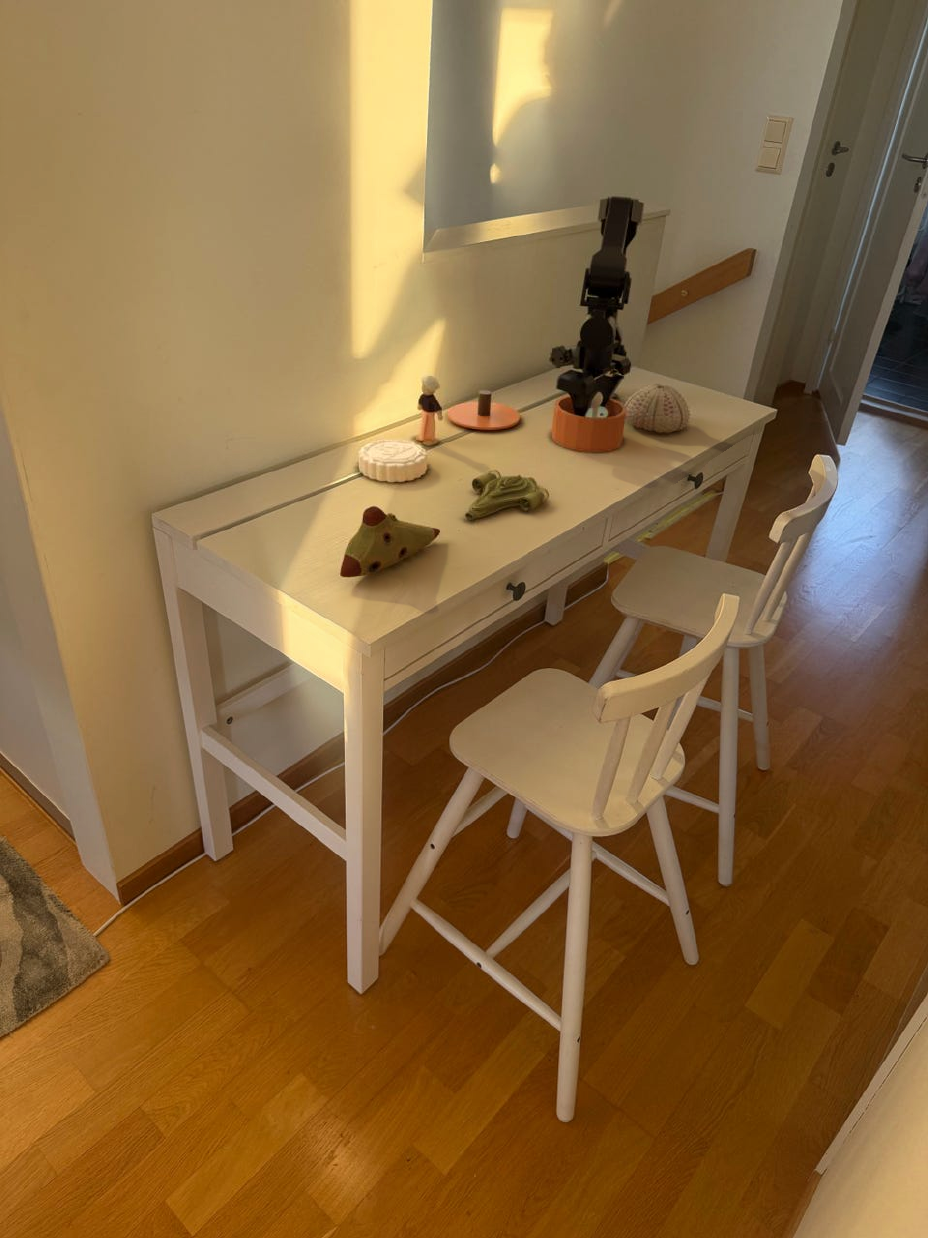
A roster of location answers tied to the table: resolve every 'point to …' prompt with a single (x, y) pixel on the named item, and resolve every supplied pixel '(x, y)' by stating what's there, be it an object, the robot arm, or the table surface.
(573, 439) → the pot
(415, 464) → the mooncake
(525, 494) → the spaceship toy
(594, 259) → the robot arm
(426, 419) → the grandmother figurine
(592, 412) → the pacifier
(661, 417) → the sea urchin shell
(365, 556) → the ocarina
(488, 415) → the lid
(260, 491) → the table surface
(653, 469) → the table surface
